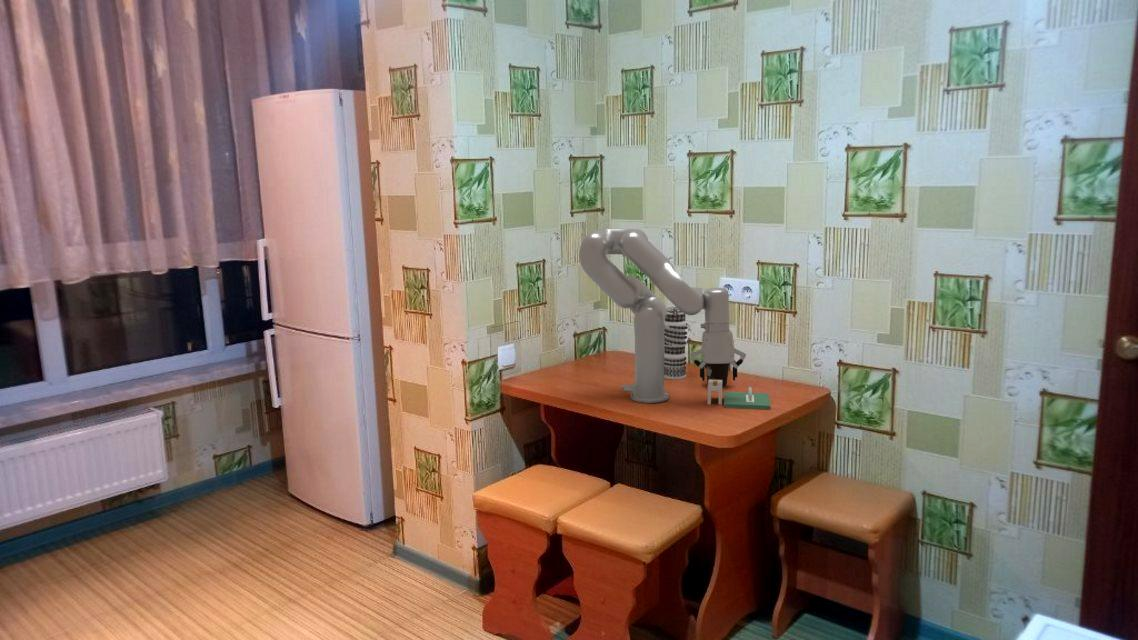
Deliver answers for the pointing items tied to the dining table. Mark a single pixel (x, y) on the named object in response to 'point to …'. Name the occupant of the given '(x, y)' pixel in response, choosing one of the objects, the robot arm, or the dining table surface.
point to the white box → (715, 389)
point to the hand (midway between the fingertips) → (718, 379)
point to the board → (747, 400)
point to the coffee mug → (717, 372)
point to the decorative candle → (674, 344)
